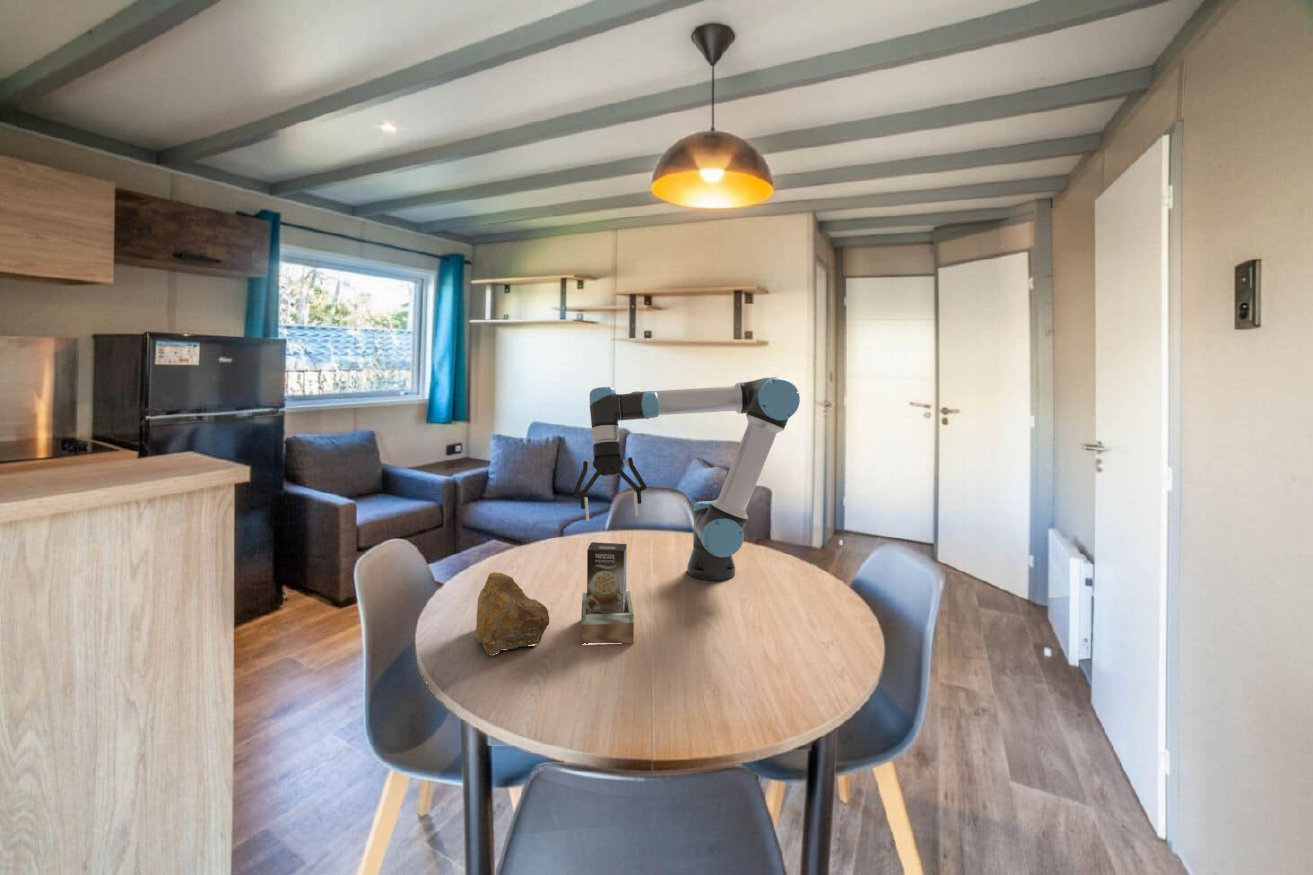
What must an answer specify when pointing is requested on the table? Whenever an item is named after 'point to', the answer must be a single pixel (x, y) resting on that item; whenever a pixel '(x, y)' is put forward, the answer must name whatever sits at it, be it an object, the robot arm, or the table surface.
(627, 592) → the open wooden box
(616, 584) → the coffee box
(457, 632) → the table surface
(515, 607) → the rough brown rock
